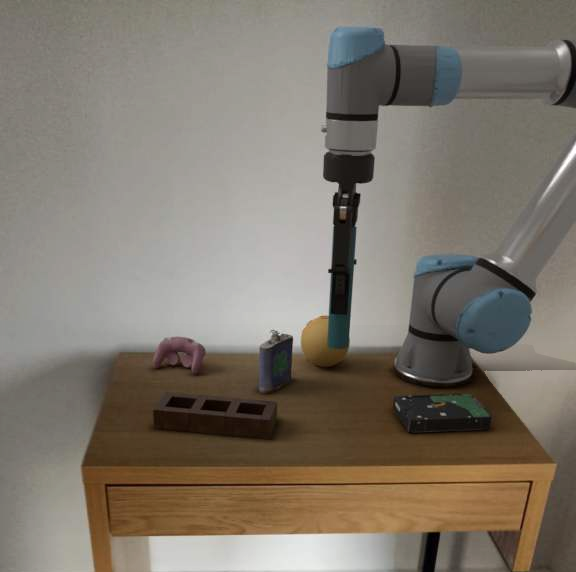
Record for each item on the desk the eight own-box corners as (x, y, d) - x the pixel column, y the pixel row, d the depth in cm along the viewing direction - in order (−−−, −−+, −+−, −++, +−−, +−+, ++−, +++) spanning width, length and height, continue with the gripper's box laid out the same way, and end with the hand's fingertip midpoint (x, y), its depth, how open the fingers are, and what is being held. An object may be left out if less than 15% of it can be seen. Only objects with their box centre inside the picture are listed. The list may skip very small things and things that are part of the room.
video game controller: (204, 377, 149) (209, 341, 149) (195, 374, 145) (201, 338, 144) (159, 370, 152) (164, 335, 151) (149, 367, 147) (154, 331, 147)
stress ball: (353, 372, 150) (357, 323, 144) (305, 375, 148) (307, 325, 143) (340, 355, 158) (344, 308, 153) (295, 357, 156) (296, 309, 151)
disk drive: (408, 435, 127) (491, 430, 129) (410, 420, 125) (494, 415, 127) (391, 409, 135) (469, 405, 137) (392, 395, 134) (471, 391, 136)
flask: (266, 395, 139) (267, 338, 133) (254, 391, 140) (254, 335, 135) (294, 380, 145) (296, 326, 140) (281, 376, 147) (283, 323, 141)
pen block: (276, 420, 130) (277, 401, 128) (269, 439, 123) (269, 420, 122) (166, 410, 132) (165, 391, 130) (154, 428, 125) (152, 409, 124)
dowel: (349, 342, 127) (357, 225, 117) (347, 349, 124) (355, 229, 114) (328, 341, 127) (334, 223, 117) (326, 348, 124) (332, 228, 114)
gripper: (329, 144, 117) (322, 294, 130) (317, 157, 103) (311, 324, 116) (377, 146, 117) (366, 296, 129) (372, 160, 103) (359, 327, 115)
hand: (340, 309), depth 122 cm, fingers closed on dowel, 4 cm apart
